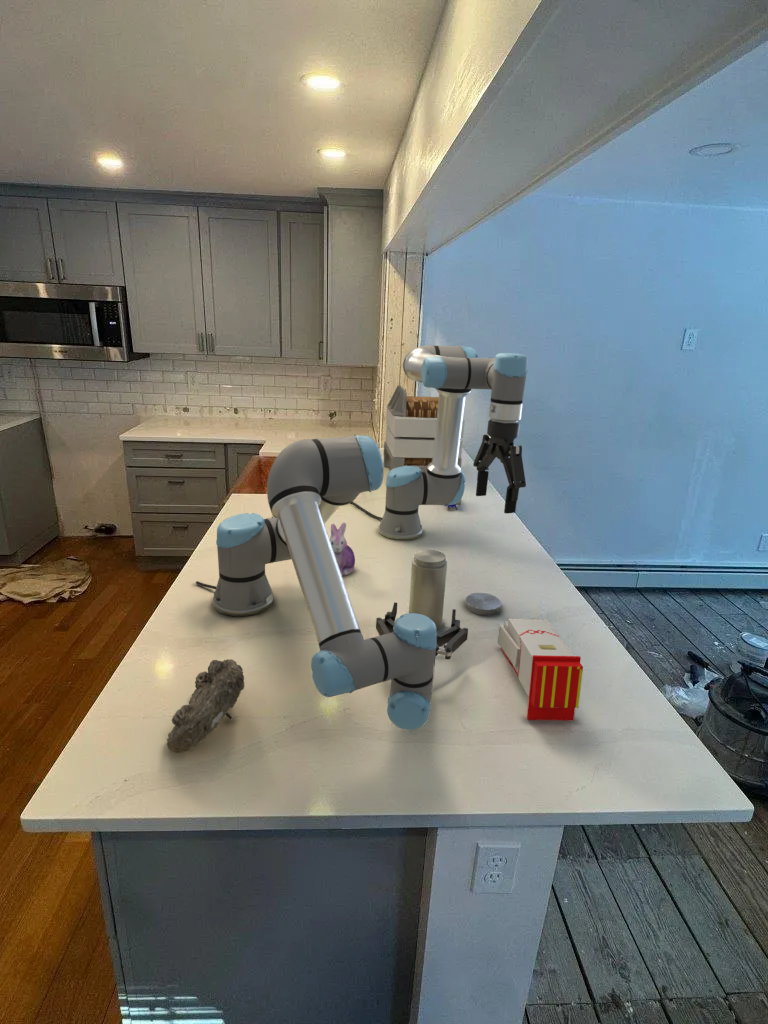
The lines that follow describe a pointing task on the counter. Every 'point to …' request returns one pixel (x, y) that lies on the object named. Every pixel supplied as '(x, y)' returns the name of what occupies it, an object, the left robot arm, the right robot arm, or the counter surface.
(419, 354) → the right robot arm
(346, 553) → the figurine
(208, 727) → the fossil
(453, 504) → the figurine character
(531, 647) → the toy
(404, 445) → the white wooden box
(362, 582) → the counter surface
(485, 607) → the lid
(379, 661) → the left robot arm
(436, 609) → the jar
